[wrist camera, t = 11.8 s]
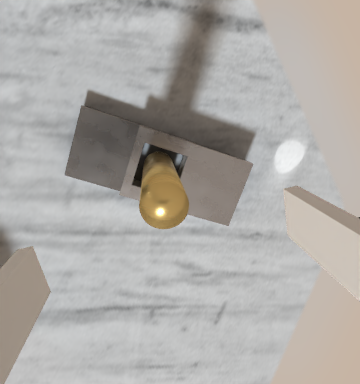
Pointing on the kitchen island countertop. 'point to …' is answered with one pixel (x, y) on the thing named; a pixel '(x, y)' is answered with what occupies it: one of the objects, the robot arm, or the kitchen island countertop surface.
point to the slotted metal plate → (130, 154)
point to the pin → (162, 193)
